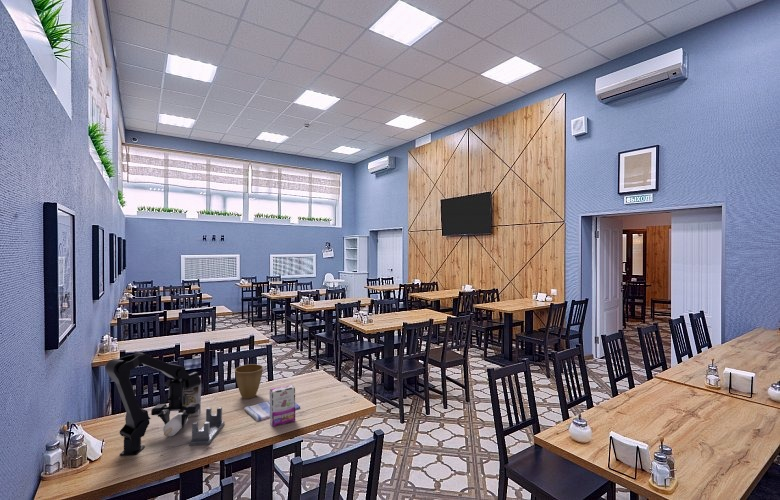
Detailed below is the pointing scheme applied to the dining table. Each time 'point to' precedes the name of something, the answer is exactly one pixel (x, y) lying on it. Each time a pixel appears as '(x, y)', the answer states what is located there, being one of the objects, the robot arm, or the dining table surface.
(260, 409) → the dish towel
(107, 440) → the dining table surface
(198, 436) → the roll holder
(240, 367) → the plant pot
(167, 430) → the paper roll
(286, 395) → the candy bar box
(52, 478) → the dining table surface
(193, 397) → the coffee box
